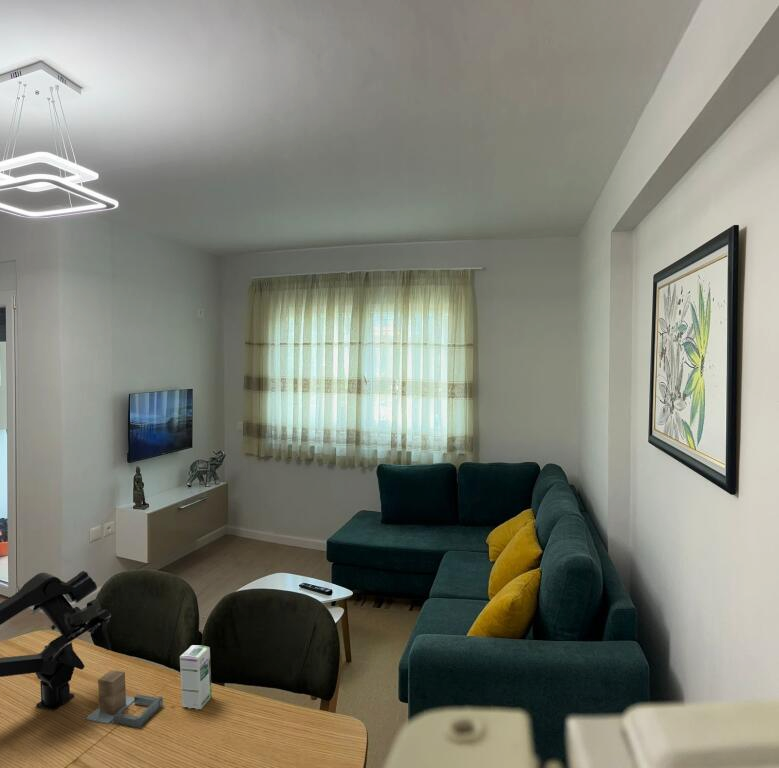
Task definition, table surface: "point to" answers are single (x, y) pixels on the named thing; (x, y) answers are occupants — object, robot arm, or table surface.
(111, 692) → the walnut block
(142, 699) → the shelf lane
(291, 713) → the table surface
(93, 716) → the mat
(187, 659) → the syrup box
